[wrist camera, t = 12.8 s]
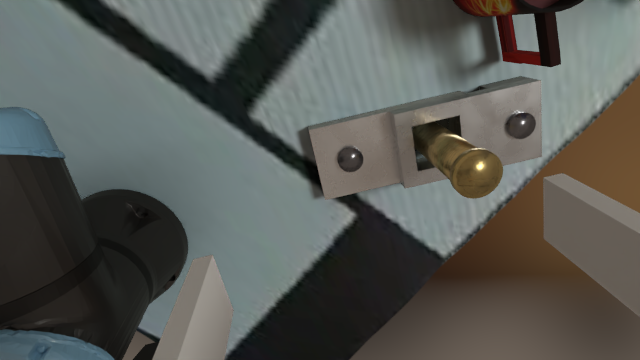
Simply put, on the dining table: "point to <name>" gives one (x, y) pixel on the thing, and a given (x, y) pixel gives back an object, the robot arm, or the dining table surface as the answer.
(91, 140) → the dining table surface
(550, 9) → the mug
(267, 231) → the dining table surface
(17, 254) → the robot arm
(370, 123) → the slotted metal plate
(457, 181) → the brass pin
